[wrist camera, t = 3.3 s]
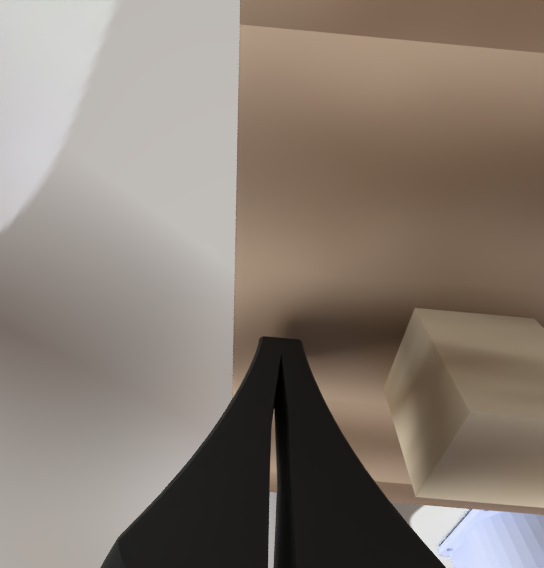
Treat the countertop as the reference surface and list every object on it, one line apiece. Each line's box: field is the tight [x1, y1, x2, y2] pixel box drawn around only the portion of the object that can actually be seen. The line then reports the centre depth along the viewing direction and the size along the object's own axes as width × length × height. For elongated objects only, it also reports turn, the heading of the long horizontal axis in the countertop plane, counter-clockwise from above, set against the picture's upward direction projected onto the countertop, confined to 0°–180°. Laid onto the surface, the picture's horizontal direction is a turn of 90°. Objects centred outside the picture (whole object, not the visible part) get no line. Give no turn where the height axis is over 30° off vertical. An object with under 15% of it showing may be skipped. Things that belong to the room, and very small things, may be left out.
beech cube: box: [383, 308, 544, 508], centre depth 10 cm, size 4×4×4 cm
